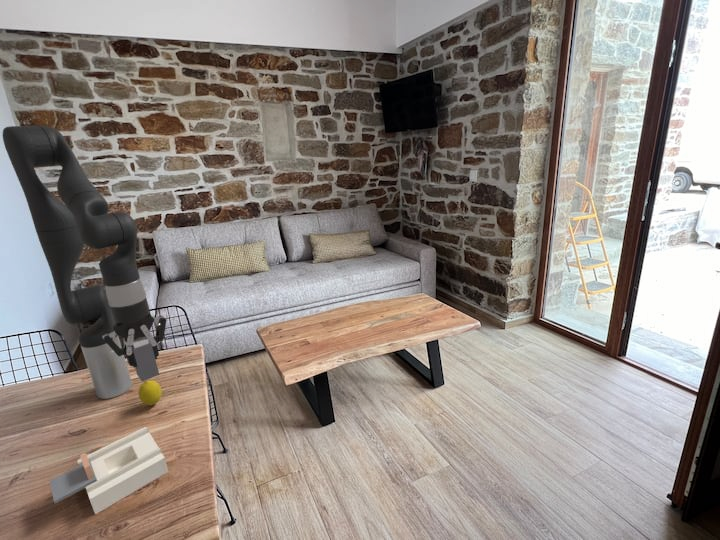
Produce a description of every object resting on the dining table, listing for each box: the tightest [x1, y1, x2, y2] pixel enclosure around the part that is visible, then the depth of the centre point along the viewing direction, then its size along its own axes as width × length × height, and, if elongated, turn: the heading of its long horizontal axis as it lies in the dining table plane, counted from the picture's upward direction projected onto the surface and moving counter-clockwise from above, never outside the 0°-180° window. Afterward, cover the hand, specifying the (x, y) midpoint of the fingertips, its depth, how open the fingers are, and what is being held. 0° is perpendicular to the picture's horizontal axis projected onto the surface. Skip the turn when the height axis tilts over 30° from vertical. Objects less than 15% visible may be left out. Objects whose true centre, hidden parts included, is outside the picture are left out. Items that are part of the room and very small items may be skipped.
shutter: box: [49, 452, 97, 505], centre depth 76 cm, size 7×7×4 cm
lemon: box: [138, 379, 163, 406], centre depth 105 cm, size 6×6×8 cm
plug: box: [132, 337, 160, 383], centre depth 92 cm, size 4×4×10 cm
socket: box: [77, 426, 169, 515], centre depth 83 cm, size 14×14×5 cm
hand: (144, 361), depth 92 cm, fingers closed on plug, 4 cm apart
